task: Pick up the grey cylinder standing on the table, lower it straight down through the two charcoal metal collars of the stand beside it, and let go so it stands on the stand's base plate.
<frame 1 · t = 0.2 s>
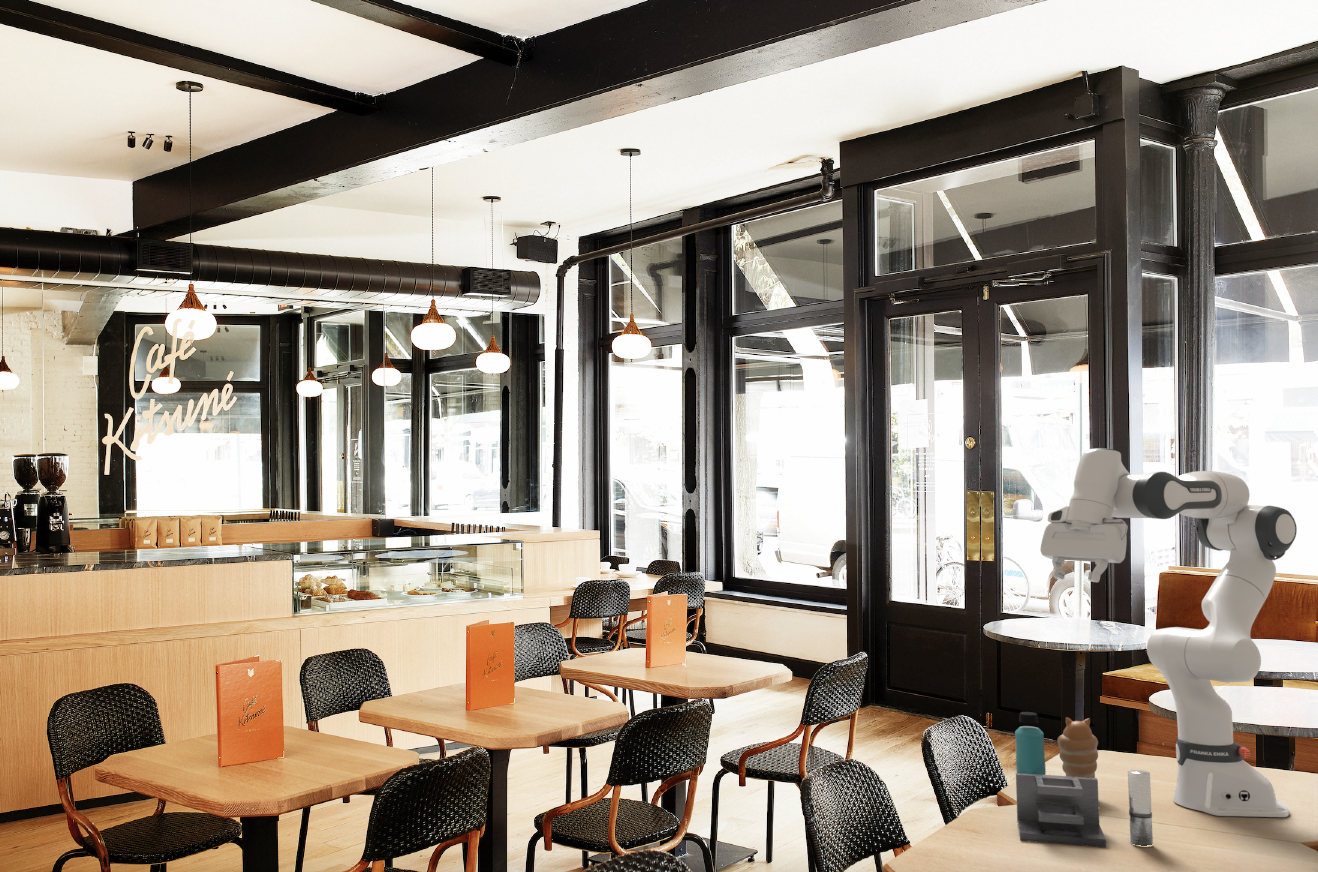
hand: (1075, 580, 218), 51 cm above the table, tool tilted 20°, fingers open, 8 cm apart
collar stand: (1060, 834, 208), on the table
cat ice cream: (1080, 797, 236), on the table
grey cylinder: (1141, 844, 202), on the table
beverage bottle: (1031, 802, 232), on the table
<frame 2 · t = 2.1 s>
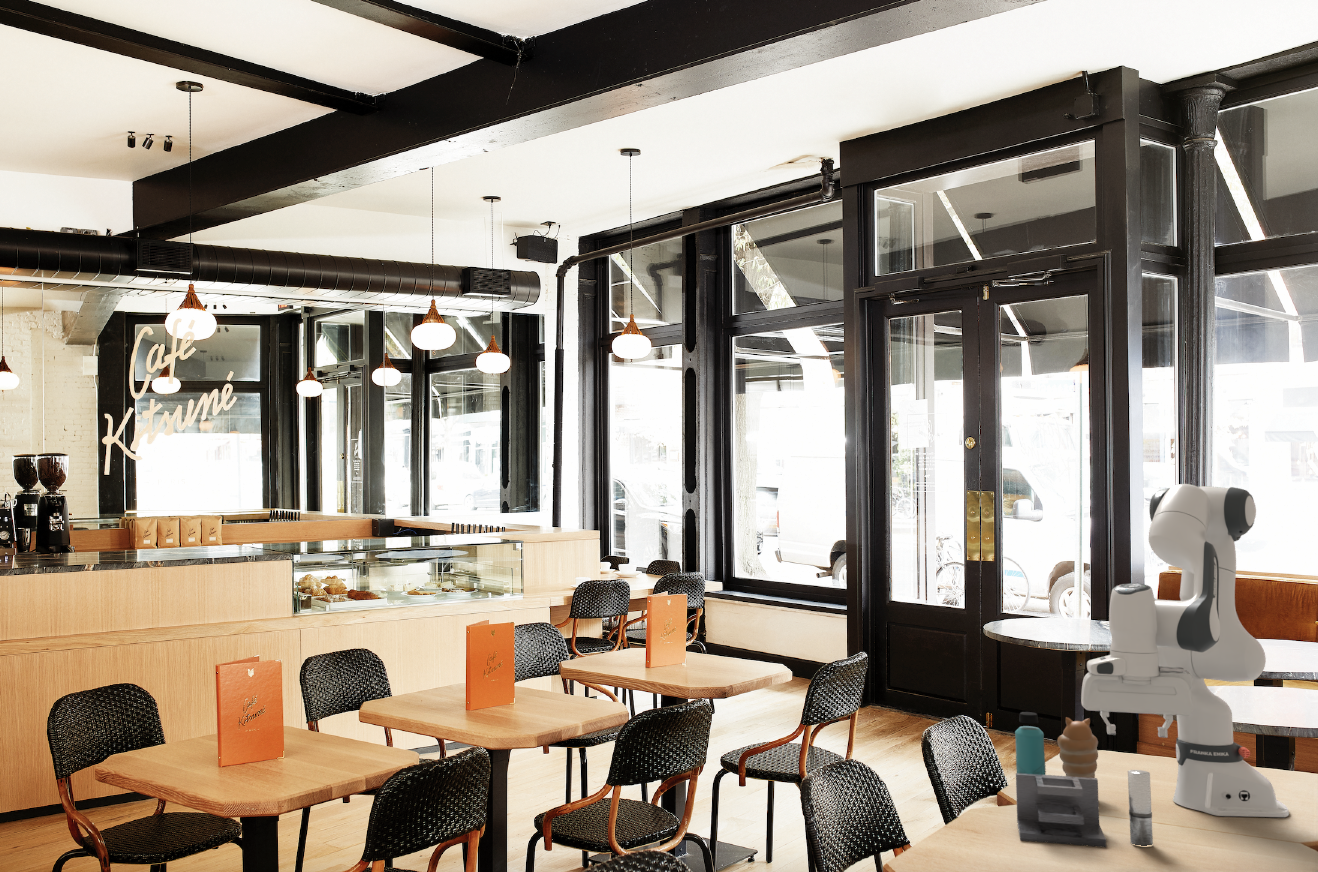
hand: (1136, 735, 204), 21 cm above the table, tool pointing down, fingers open, 8 cm apart
nothing on the table moved.
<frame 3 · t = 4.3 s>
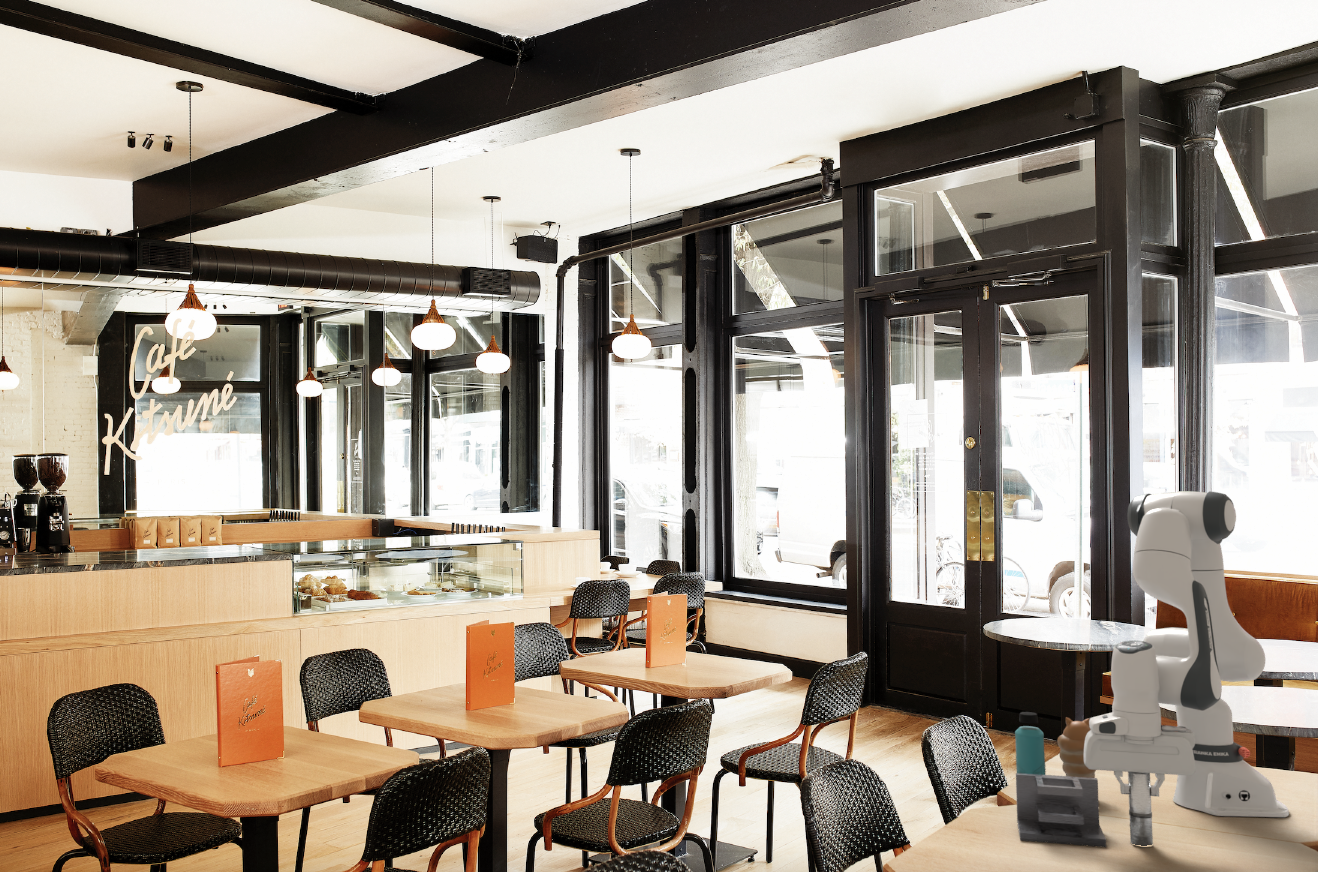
hand: (1139, 794, 203), 10 cm above the table, tool pointing down, fingers closed on grey cylinder, 4 cm apart
grey cylinder: (1141, 844, 202), on the table, touching gripper
everything else where it was.
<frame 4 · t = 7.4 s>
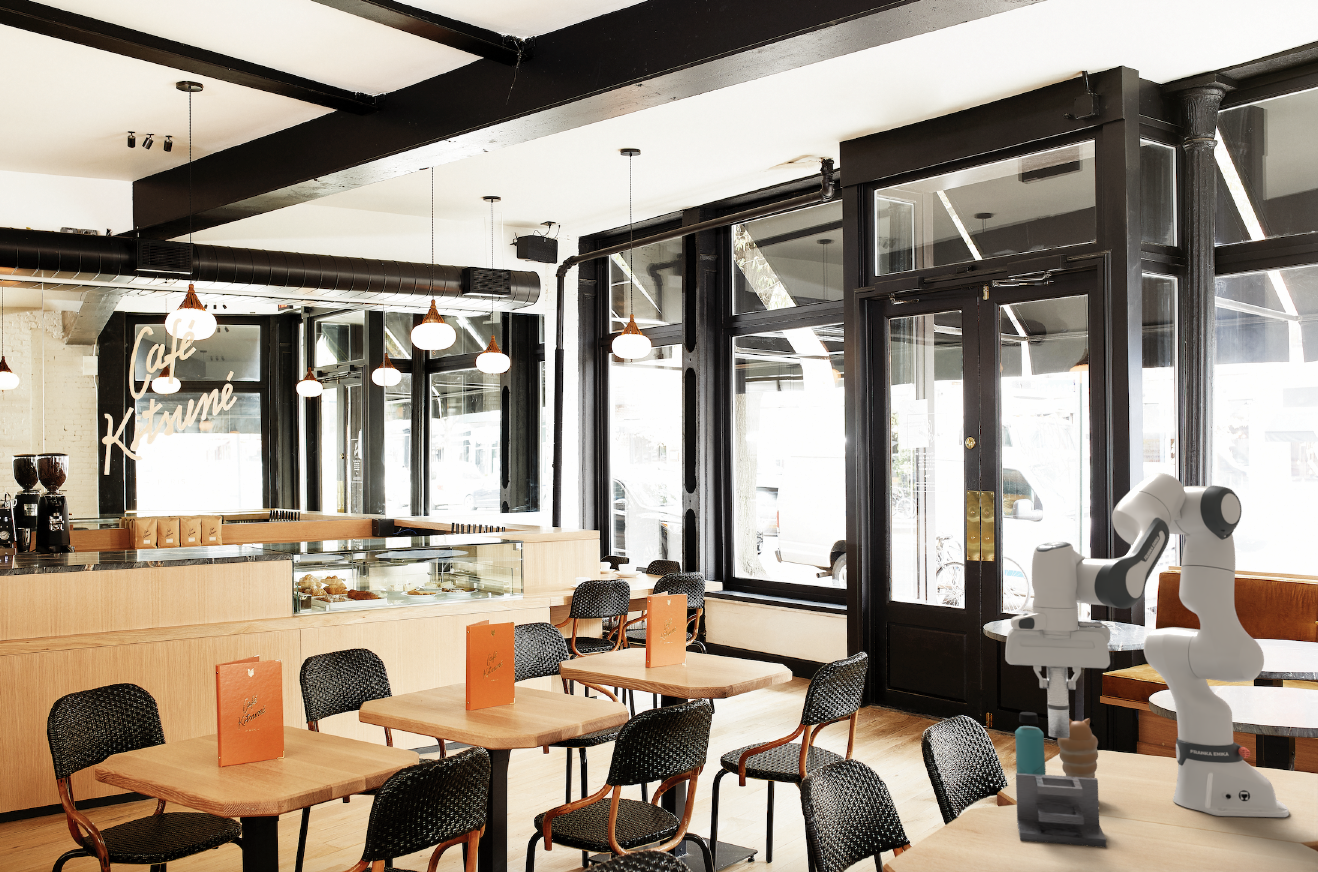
hand: (1057, 688, 210), 30 cm above the table, tool pointing down, fingers closed on grey cylinder, 4 cm apart
grey cylinder: (1059, 735, 209), point 20 cm above the table, touching gripper
everything else where it was.
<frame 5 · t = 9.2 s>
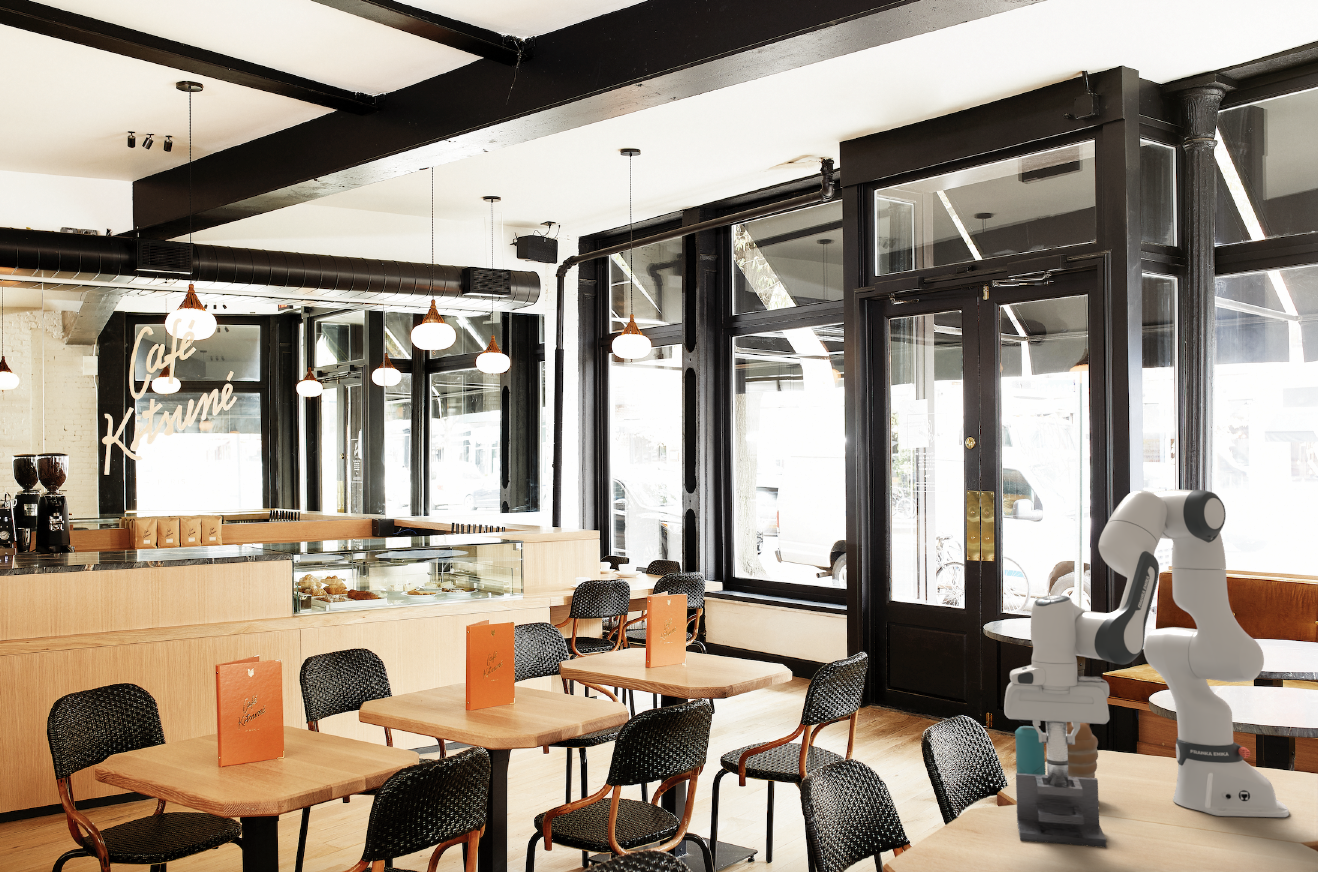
hand: (1056, 743, 210), 18 cm above the table, tool pointing down, fingers closed on grey cylinder, 4 cm apart
grey cylinder: (1058, 790, 209), point 9 cm above the table, touching gripper
everything else where it was.
when the fingers open (13 cm above the table, at t = 10.6 s): grey cylinder drops 2 cm, resting on collar stand.
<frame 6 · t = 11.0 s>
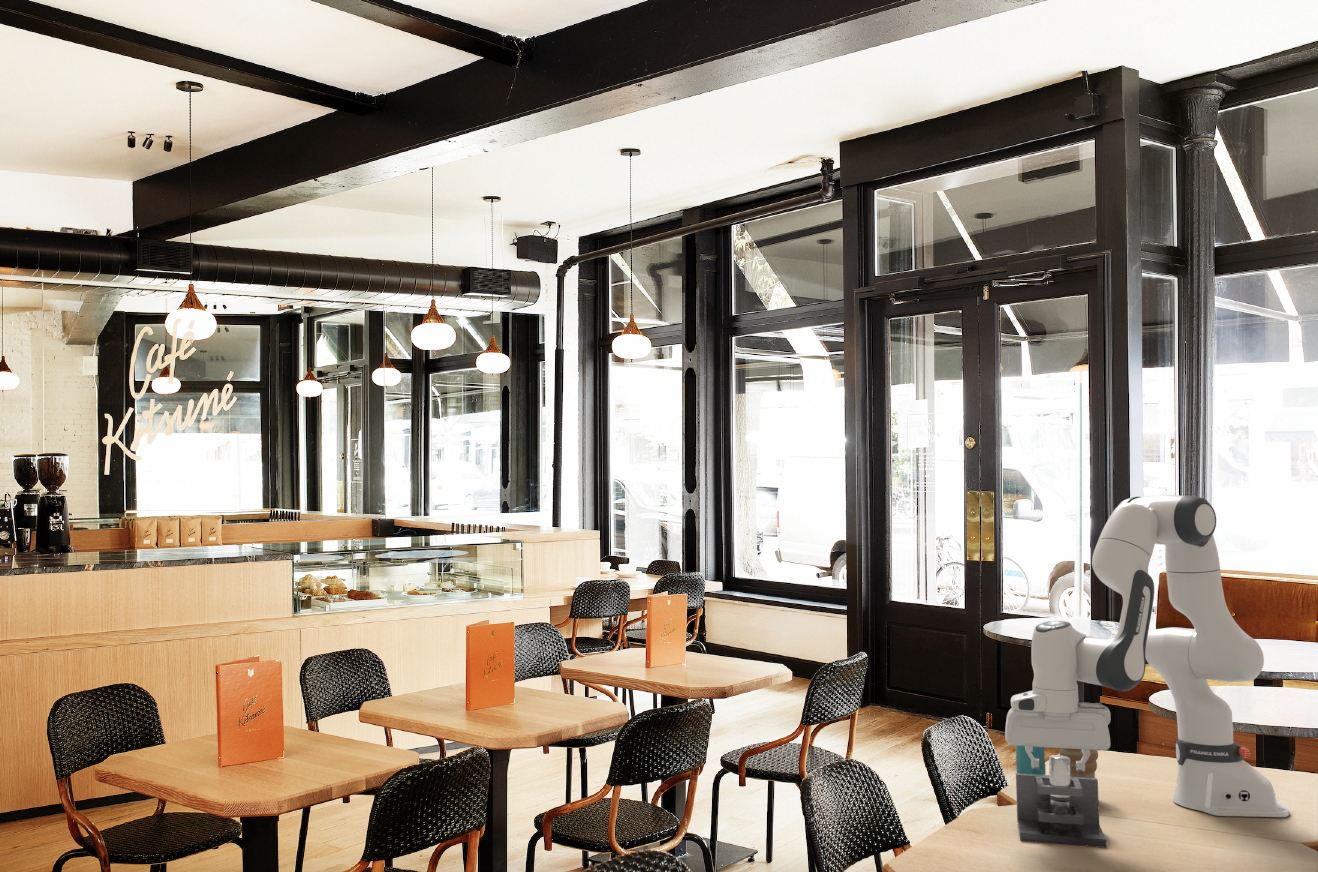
hand: (1057, 769, 209), 13 cm above the table, tool pointing down, fingers open, 7 cm apart
grey cylinder: (1060, 827, 208), point 2 cm above the table, touching collar stand
everything else where it was.
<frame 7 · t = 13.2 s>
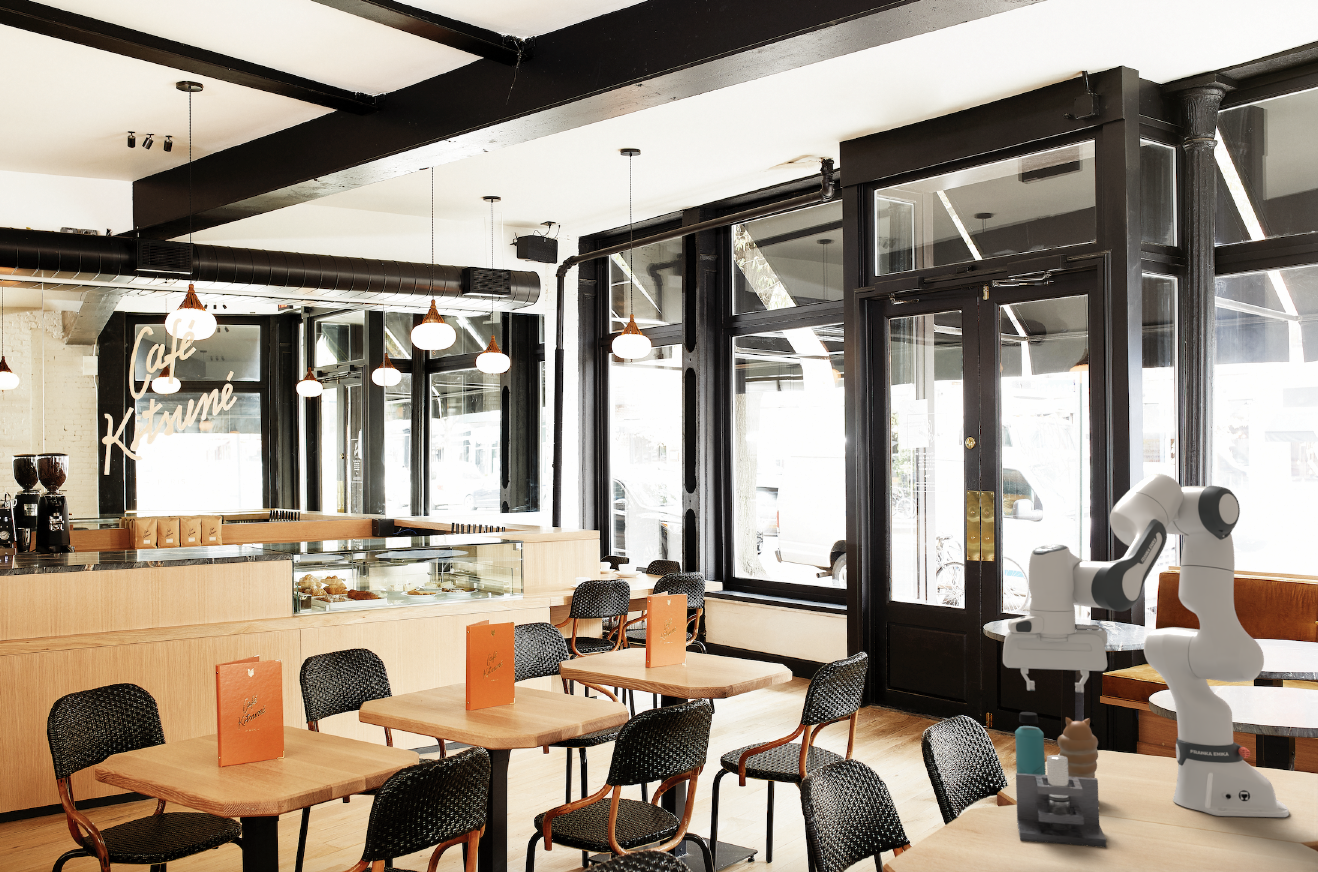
hand: (1055, 691, 210), 29 cm above the table, tool pointing down, fingers open, 8 cm apart
nothing on the table moved.
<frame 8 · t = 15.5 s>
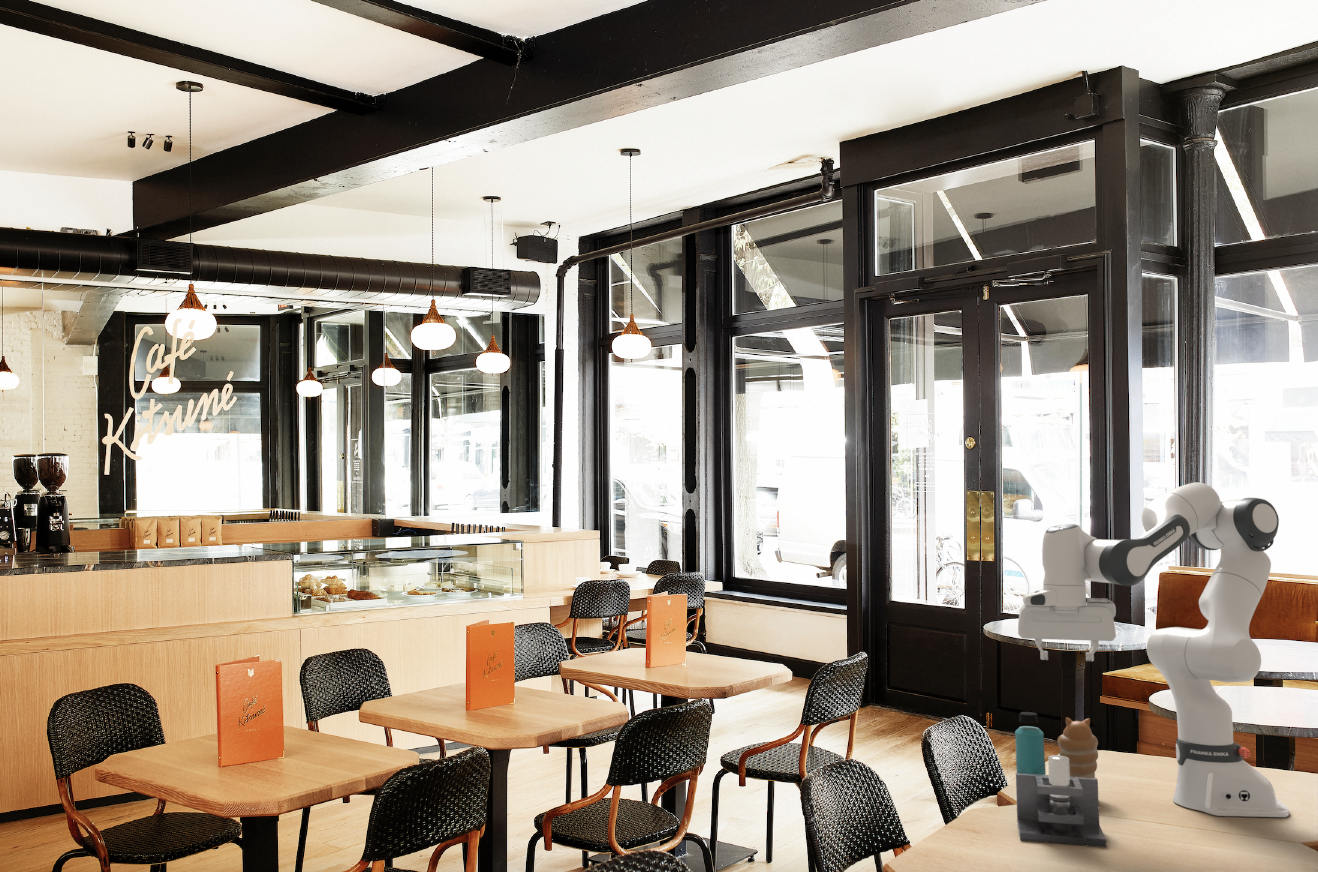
hand: (1067, 660, 226), 33 cm above the table, tool pointing down, fingers open, 8 cm apart
nothing on the table moved.
at the end: grey cylinder 0.1 cm off-centre on the collar stand, point 1.6 cm above the collar stand's base; grey cylinder tilted 2°; the gripper is holding nothing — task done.
